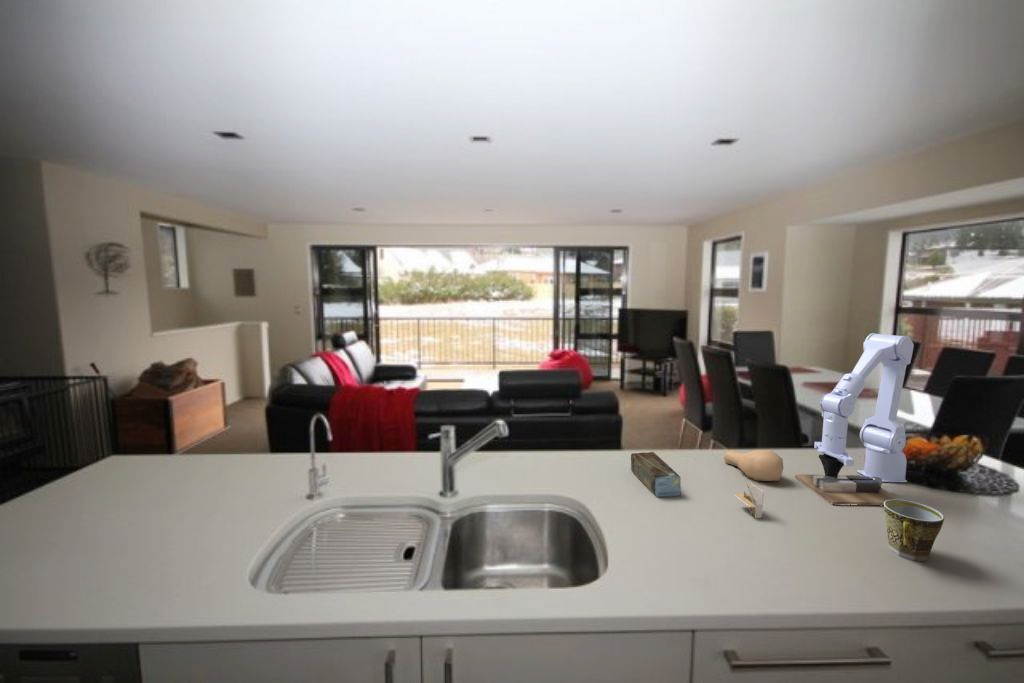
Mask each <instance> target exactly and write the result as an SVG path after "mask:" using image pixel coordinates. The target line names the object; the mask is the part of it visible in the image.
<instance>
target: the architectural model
mask: <svg viewBox="0 0 1024 683" xmlns="http://www.w3.org/2000/svg"><path fill="white" fill-rule="evenodd" d="M746 485H747V488H748V491H749V493H748V494H747V492H746V491H743V493H735V494H734V496H735V497H736V498H738V499H739V500H740V501H741V502H743V503H744V504H745V505H746V506H747V507H748V508H747V509H748V510H749V512H750V514H751V515H752V514H754V519H761V517H762V518H763V507H764V506H763V505H764V490H762V489H761V488H759V487H758V486H756V485H755V484H754V483H752V482H751V481H750V482H749V485H748V484H746Z"/></svg>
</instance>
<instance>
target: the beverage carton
mask: <svg viewBox="0 0 1024 683" xmlns="http://www.w3.org/2000/svg"><path fill="white" fill-rule="evenodd" d="M630 470H631V471H632V473H633V474H634V475H635V476H636V477H637V479H639V481H640V482H641V483H642V484H643V485H644V486H645V487H646V489H647V490H648V491H649V492H650V493H651V494H652V495H653V496H654V495H655V496H656V498H659V496H661V497H672V496H673V497H674V496H677V497H678V496H681V490H682V488H681V480H682V479H681V476H680V475H679V473H677V472H676V471H675V470H674V469H673V468H672V467H671V466H670V465H668V463H666V461H664V460H663V459H662V458H661V457H660V456H659V455H658V454H656V453H655V452H654V451H649V452H638V453H637V452H636V453H635V452H633V453H631V454H630ZM655 496H654V497H655Z"/></svg>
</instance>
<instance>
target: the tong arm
mask: <svg viewBox="0 0 1024 683" xmlns="http://www.w3.org/2000/svg"><path fill="white" fill-rule="evenodd" d="M820 480H841V481H852V480H875V481H877V482H879V489H881V488H882V485H883V482H882V479H881V478H879V477H869V476H864V475H860V476H846V477H836V476H814V478H813V484H814V485H815V486H820Z"/></svg>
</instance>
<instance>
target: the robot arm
mask: <svg viewBox="0 0 1024 683" xmlns="http://www.w3.org/2000/svg"><path fill="white" fill-rule="evenodd" d="M914 346H915V345H914V343H913V341H912V338H911V337H909V336H908V335H893V334H882V333H876V332H872V333H869V334H868V336H866V338H865V339H864V341H863V345H862V348H863V352H862V354H861V356H860V357H859V360H858V361H857V362H856V364H855V366H854V368H853V370H851V372H850V373H845V374H844V375H843V376H842V378H841V379H840V380H839V381H838V383H837V384H836V386H835V387H834V388H833V390H832V391H831V392H829V393H826V394H824V395H823V396H822V397H821V399H820V402H819V404H818V406H819V408H820V410H821V417H822V418H823V419H822V420H823V421H822V422H823V423H822V434H821V435H822V437H821V441H814V444H813V445H814V449H816V450H817V452H818V453H819V455H818V458H819V460H820V462H821V465H822V467H823V468H822V469H823V471H824V475H825V476H836V477H837V476H838V475H839V474H840V471H841V470H842V469H843V467H845V466H846V467H854V461H855V459H854V458H852V457H851V456H850V455H849V454H848V453H847V451H846V450H847V449H846V448H847V436H848V435H847V434H848V423H849V416H851V415H853V413H854V412H855V408H856V404H857V398H858V397H859V396H860V394H861V393H862V391H863V390H864V388H865V387H866V386H867V383H866V380H865V379H866V378H867V377H868V376H869V375H870V374H871V373H872V372H873V370H874V369H876V367H877V366H878V365H879V364H880V363H881V364H882V367H883V368H882V372H881V379H880V384H879V389H878V394H877V401H876V406H875V409H874V415H873V416H871V417H869V418H866V419H865V420H864V423H863V425H862V426H861V429H860V432H859V439H860V441H861V443H863V446H864V447H865V455H864V456H865V458H864V459H865V460H864V468H863V469H857V470H856V472H857V473H859V475H861V476H869V477H879V478H881V479H882V483H907V482H908V480H906V475H907V474H906V473H907V460H908V459H907V457H906V456H907V455H906V454H905V453H904V451H903V450H904V447H906V444H907V439H906V430H907V429H906V428H905V427H904V426H903V425H902V424H901V423H900V421H898V420H897V416H898V412H899V411H898V410H899V407H900V400H901V396H902V390H903V386H904V380H905V375H906V371H907V370H906V368H907V365H910V364H911V360H912V356H913V351H914Z"/></svg>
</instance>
